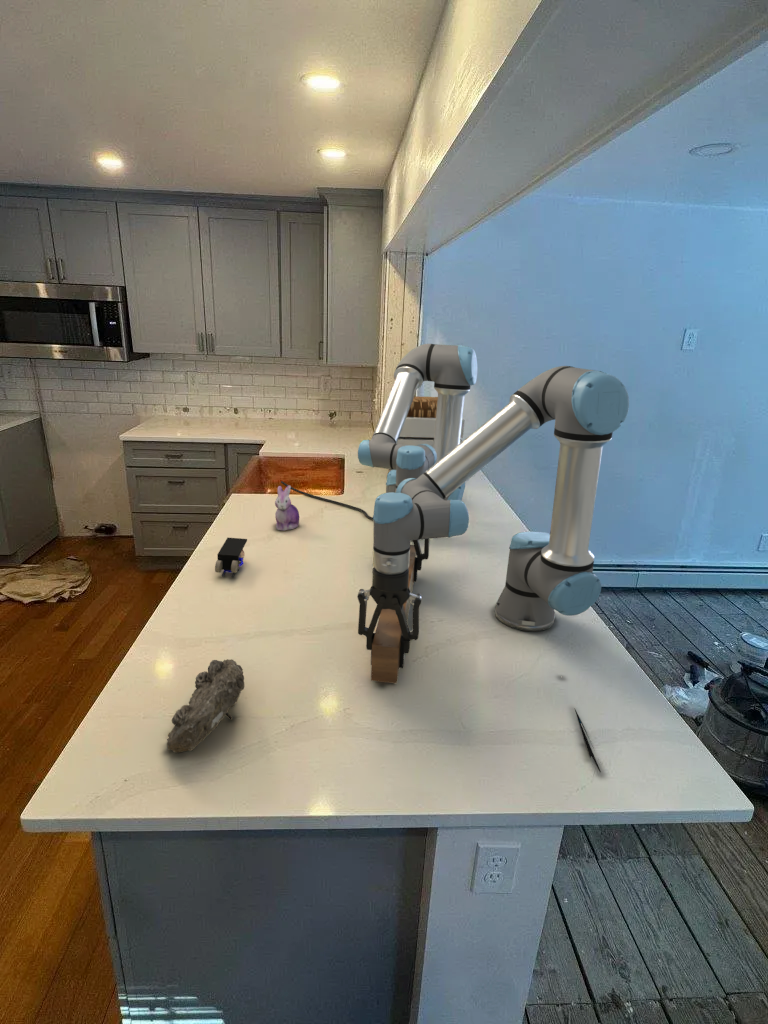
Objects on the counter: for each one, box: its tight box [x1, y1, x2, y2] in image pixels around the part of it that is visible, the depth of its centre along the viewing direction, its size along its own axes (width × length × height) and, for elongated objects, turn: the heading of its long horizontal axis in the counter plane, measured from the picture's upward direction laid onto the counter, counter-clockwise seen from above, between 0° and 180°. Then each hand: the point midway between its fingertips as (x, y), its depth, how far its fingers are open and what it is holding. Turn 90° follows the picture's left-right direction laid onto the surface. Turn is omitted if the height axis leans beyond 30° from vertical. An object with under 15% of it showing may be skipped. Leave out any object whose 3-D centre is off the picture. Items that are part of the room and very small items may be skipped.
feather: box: [561, 676, 602, 773], centre depth 111 cm, size 2×28×2 cm
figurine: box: [274, 484, 300, 531], centre depth 199 cm, size 9×10×15 cm
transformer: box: [389, 395, 465, 472], centre depth 268 cm, size 34×33×41 cm
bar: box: [370, 544, 417, 684], centre depth 143 cm, size 54×6×9 cm, turn 173°
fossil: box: [166, 658, 245, 754], centre depth 106 cm, size 22×10×15 cm
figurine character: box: [214, 537, 248, 578], centre depth 166 cm, size 7×8×15 cm
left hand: (404, 578), depth 163 cm, fingers closed on bar, 5 cm apart
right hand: (387, 662), depth 124 cm, fingers closed on bar, 6 cm apart
